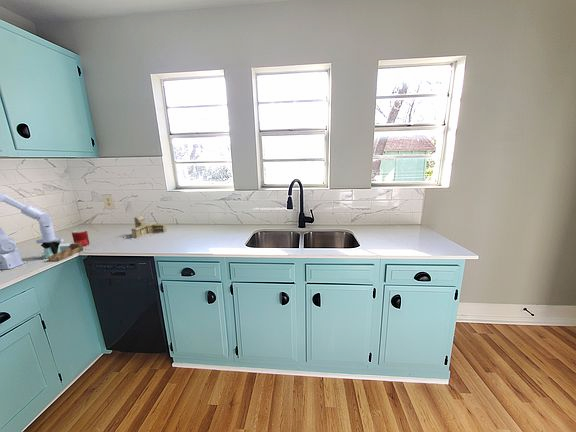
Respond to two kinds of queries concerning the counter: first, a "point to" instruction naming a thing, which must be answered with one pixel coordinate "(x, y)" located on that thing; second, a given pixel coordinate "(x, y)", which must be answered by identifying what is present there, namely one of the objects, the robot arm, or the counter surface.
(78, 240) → the canned food
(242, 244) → the counter surface
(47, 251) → the door panel
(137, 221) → the toy kitchen set
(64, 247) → the skincare box
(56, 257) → the track
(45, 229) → the robot arm
